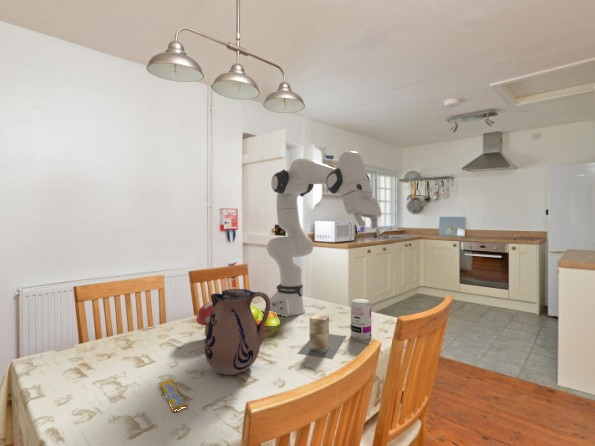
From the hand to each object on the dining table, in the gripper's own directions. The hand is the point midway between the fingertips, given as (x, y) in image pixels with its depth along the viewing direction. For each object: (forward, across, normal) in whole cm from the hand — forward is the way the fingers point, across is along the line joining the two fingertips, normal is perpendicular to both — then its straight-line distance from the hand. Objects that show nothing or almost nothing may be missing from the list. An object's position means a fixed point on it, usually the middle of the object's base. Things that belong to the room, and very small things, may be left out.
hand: (369, 227), depth 114 cm
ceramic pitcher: (+37, +32, -43) cm, 65 cm away
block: (+38, +5, -30) cm, 49 cm away
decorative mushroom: (+27, +23, -69) cm, 77 cm away
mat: (+37, 0, -31) cm, 49 cm away
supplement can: (+38, -16, -24) cm, 48 cm away
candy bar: (+39, +54, -44) cm, 80 cm away
